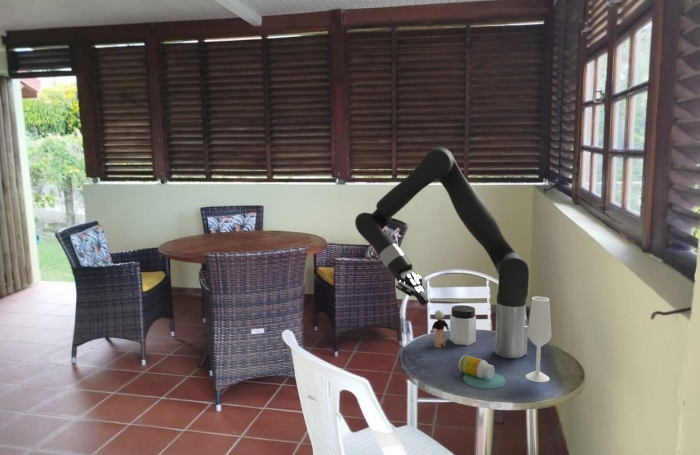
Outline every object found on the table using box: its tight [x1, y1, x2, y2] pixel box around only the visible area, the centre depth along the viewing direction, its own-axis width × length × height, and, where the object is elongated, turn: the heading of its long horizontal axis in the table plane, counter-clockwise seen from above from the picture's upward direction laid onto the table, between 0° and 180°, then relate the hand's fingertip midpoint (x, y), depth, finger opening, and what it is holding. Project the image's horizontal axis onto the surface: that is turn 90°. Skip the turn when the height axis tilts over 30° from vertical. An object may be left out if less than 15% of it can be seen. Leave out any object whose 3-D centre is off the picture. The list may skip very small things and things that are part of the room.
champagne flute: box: [525, 296, 552, 383], centre depth 160 cm, size 7×7×24 cm
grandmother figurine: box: [430, 309, 450, 348], centre depth 187 cm, size 8×4×13 cm, turn 133°
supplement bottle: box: [458, 354, 496, 379], centre depth 161 cm, size 5×5×10 cm
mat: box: [462, 372, 507, 390], centre depth 160 cm, size 12×12×1 cm
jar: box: [449, 304, 477, 346], centre depth 192 cm, size 9×8×12 cm
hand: (425, 303), depth 172 cm, fingers closed
